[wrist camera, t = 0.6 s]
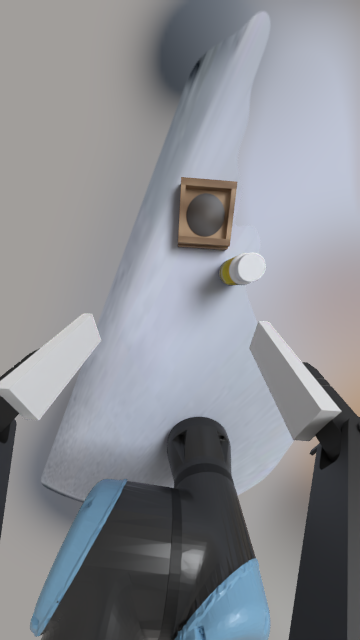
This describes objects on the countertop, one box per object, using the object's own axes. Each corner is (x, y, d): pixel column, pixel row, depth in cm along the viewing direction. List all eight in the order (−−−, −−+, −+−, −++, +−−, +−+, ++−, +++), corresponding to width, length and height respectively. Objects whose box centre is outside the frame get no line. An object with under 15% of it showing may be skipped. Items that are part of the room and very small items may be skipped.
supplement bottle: (222, 288, 30) (239, 289, 22) (215, 265, 29) (230, 257, 21) (245, 279, 30) (272, 277, 22) (239, 255, 29) (264, 243, 21)
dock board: (225, 249, 29) (229, 247, 27) (177, 246, 28) (177, 243, 26) (233, 187, 26) (237, 180, 24) (181, 183, 26) (181, 175, 24)
